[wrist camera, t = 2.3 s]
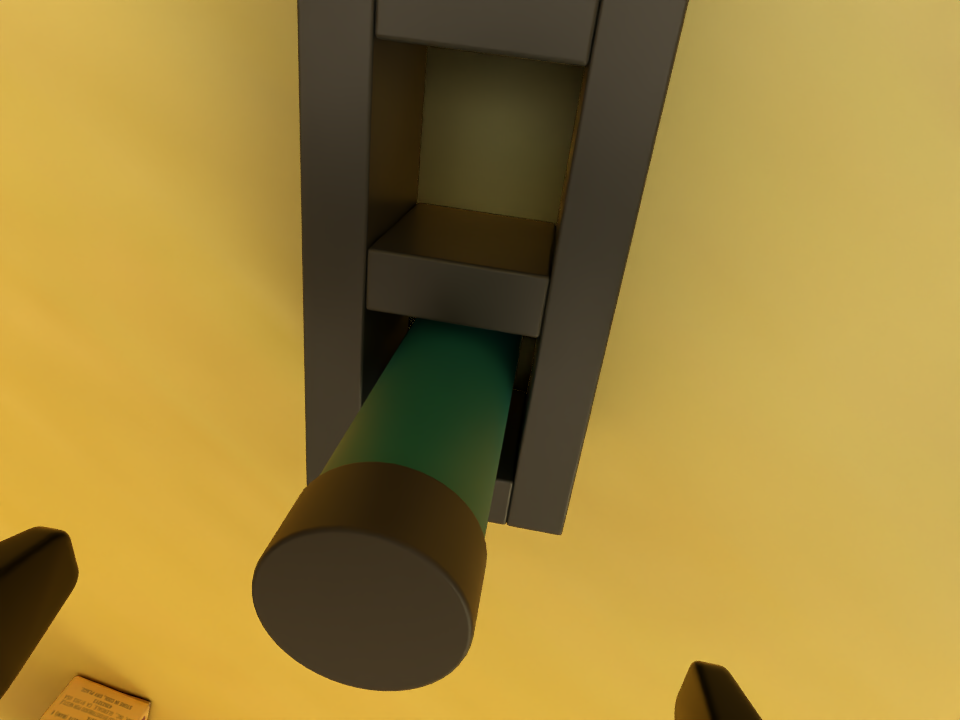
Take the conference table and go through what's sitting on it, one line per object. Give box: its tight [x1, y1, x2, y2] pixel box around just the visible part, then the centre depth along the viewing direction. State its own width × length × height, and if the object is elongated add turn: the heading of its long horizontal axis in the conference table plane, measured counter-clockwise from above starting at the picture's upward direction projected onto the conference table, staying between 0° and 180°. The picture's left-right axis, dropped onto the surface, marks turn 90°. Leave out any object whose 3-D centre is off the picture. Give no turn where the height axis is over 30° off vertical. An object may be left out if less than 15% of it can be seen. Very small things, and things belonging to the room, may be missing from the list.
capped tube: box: [252, 318, 523, 691], centre depth 13 cm, size 3×3×10 cm
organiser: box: [297, 0, 689, 535], centre depth 13 cm, size 7×17×4 cm, turn 174°
